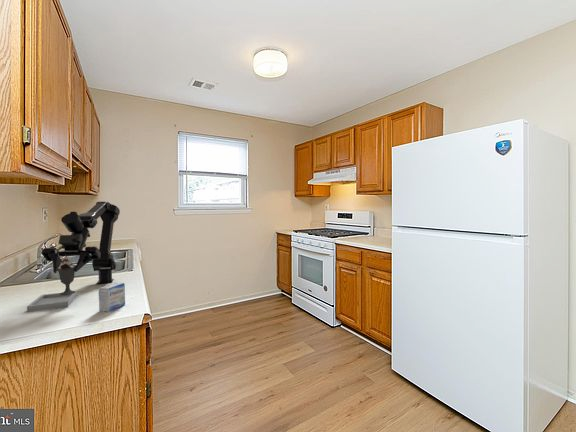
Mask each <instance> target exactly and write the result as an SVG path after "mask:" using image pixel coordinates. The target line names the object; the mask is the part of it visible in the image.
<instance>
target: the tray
mask: <svg viewBox="0 0 576 432" xmlns="http://www.w3.org/2000/svg"><path fill="white" fill-rule="evenodd" d="M75 291H76V292H75V293H73V294H69V295H60V293H61V292H54V293H46V294H41V295H40V296H38V297H37V298H36V299H34V300H33V301H32V302H30V303H29V304H28V305H27V306H26V313H29V312H36V311H45V310H52V309H60V308H62V309H63V308H69V306H70V305H72V303H73V302H74V300H75V299H76V298H77V297H78V290H75Z"/></svg>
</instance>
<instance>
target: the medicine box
mask: <svg viewBox="0 0 576 432" xmlns="http://www.w3.org/2000/svg"><path fill="white" fill-rule="evenodd" d="M125 286H126V284H125V282H114V283H113V282H112V283H109V284H107V285H105V286H102V287H99V288H98V310H99V312H106V313H107V312H108V313H110V312H112V311H114V310H116V309H118V308H122V307H123V306H125V305H126V293H125V292H126V287H125Z"/></svg>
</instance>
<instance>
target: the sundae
mask: <svg viewBox="0 0 576 432" xmlns="http://www.w3.org/2000/svg"><path fill="white" fill-rule="evenodd" d="M64 257H65V258H63V259H62V262H61V264H60V266H59V267H58V268H56V270H58V271H57V272H58V275H59V276H58V277H59V280H60V282H61V284H63V285H65V290H64V291H62V292H59V293H60V295H69V294H73V293H75V292H76V291H77V290H71V288H70V285H71V283H73V281H75V280H74V279H75V275H76V272H75V271H74V270H75V267H76V265H75V264H73V263H72V262H71V261H70V260H69V259H68V256H66V254H65V256H64Z"/></svg>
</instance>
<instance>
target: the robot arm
mask: <svg viewBox="0 0 576 432" xmlns="http://www.w3.org/2000/svg"><path fill="white" fill-rule="evenodd" d="M120 212H121V210H120V208H119V207H118V206H117V205H115V204H112V203H110V202H109V201H96V202H95V205H94V206H93V207H91V208H90V209H89V210H88V211H87V212H84V213H83V212H82V213H79V214H78V212H77V211H70V212H69V213H68V214H64V215H63V216H62V217H61V219H60V221H61V222H62V224H63V226H64V227H65V228H66V230H67V231H68V232H69V233H71V234H62V235H61V234H60V235H59V237H58V245H61V248H62V250H58V249H57V248H56V247H44V248H43V249H41V253H40V254H41V255H42V257H43V258H44V259H45V260H46V261H47V262H52V268H53V270H52V271H53V274H57V272H58V270H56V268H58V267H59V266H60V264H61V262H62V261H63V259H61V257H66V256H67V257H78V260H77V262H76V267H75V270H74V271H75V273H77V272H78V271H80V270H81V269H82V268H83V267H84V266H85V265H87V264H88V263H89V262H91V264H92V268H93V269H92V270H93V271H94V272H97V273H98V281H97V282H96V284H97V285H100V284H108V283H109V284H112V283H113V281H114V280H115V279H114V278H113V271H114V270H116V269H117V263H116V261H115V260H114V254H113V253H112V251H111V249H112V248H111V247H112V238H113V231H114V225H115V222H116V221H118V219H119V216H120V214H121V213H120ZM99 218H101V221H102V226H101V233H100V239H99V240H100V242H99V247H98V246H97V245H94V246H87V244H86V242H87V240H88V238H90V237H91V234H90V230H89V229H94V228H96V226H97V224H98V219H99ZM65 254H66V256H65Z"/></svg>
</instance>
